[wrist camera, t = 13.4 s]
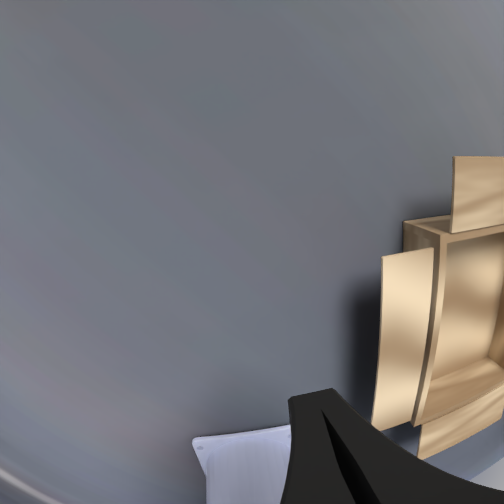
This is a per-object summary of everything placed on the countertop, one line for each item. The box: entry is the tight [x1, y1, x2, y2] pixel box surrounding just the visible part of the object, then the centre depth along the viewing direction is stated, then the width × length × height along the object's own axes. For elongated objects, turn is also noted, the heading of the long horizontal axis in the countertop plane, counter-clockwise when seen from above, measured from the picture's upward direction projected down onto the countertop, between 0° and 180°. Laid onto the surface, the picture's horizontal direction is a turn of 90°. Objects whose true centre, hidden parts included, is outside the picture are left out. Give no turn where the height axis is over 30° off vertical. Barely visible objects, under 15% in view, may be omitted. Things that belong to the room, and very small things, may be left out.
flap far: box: [416, 384, 504, 460], centre depth 19 cm, size 1×10×4 cm
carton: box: [371, 215, 504, 431], centre depth 19 cm, size 14×18×4 cm
